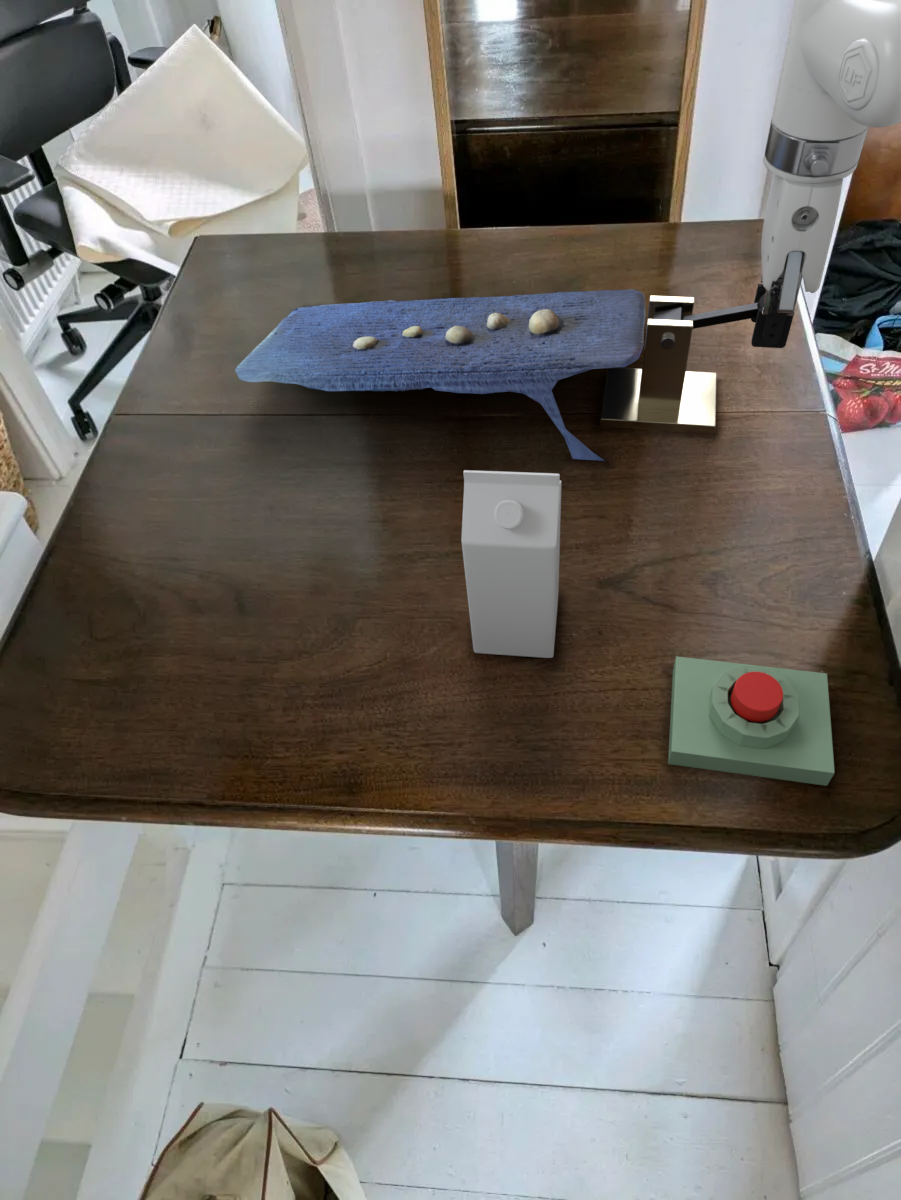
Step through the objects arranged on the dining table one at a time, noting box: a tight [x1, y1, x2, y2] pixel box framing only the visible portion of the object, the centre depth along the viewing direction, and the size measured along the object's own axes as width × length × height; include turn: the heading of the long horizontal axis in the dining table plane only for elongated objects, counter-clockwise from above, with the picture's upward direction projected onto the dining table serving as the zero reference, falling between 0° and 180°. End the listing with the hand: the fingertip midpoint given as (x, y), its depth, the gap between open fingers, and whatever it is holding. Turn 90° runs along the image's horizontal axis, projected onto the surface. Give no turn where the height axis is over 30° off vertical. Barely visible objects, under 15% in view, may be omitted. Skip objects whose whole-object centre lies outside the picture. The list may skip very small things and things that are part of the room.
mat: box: [234, 288, 646, 462], centre depth 100 cm, size 45×27×12 cm, turn 82°
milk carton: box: [460, 469, 562, 659], centre depth 70 cm, size 7×7×19 cm
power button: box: [731, 672, 783, 722], centre depth 66 cm, size 4×4×2 cm
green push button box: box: [667, 655, 835, 786], centre depth 68 cm, size 12×9×4 cm
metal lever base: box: [599, 295, 718, 435], centre depth 90 cm, size 12×9×12 cm
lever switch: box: [653, 291, 780, 330], centre depth 84 cm, size 13×3×3 cm, turn 79°
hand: (767, 331), depth 85 cm, fingers closed on lever switch, 3 cm apart
